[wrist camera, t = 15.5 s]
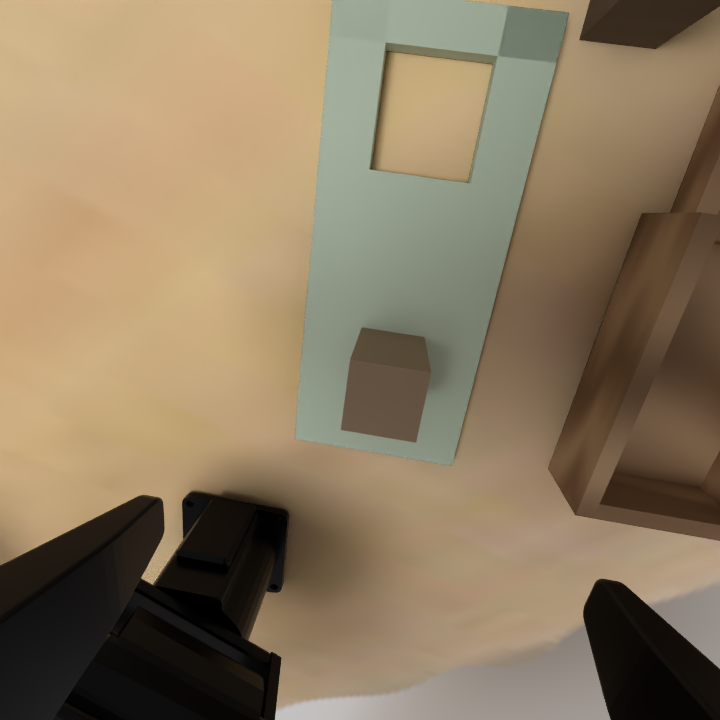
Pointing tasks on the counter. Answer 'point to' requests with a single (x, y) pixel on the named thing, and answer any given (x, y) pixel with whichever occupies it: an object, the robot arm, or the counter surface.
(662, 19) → the key peg
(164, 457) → the counter surface
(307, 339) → the lid
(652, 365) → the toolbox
